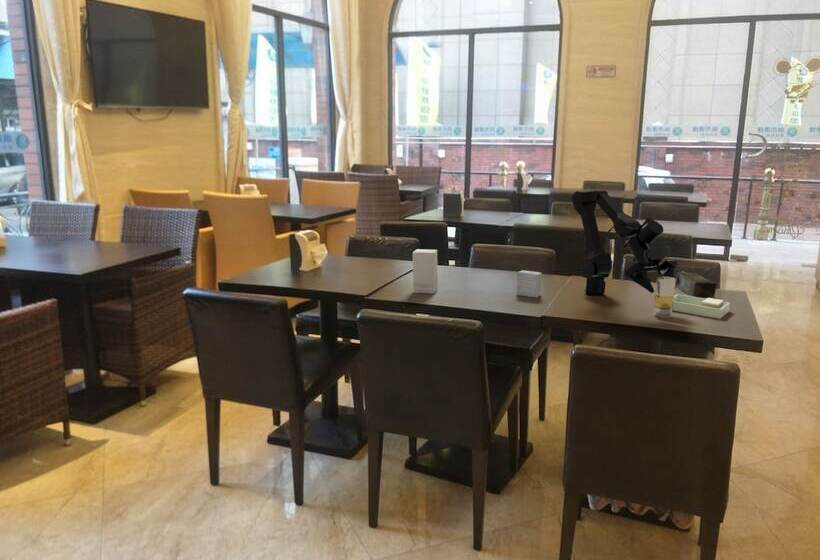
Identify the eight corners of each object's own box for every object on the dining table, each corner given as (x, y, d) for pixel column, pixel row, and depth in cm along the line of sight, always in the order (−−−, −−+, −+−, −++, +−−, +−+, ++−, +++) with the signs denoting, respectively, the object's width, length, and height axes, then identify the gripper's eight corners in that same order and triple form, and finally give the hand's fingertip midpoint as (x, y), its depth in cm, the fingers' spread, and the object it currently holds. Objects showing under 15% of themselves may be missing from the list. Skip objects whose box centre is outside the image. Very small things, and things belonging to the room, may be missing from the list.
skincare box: (437, 290, 241) (438, 249, 237) (433, 294, 235) (434, 252, 231) (416, 288, 243) (416, 248, 239) (411, 292, 237) (412, 251, 233)
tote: (665, 310, 218) (666, 300, 217) (676, 303, 226) (677, 294, 225) (720, 320, 207) (721, 309, 207) (728, 312, 216) (730, 302, 215)
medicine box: (540, 295, 235) (542, 272, 233) (536, 298, 232) (538, 274, 230) (520, 292, 239) (521, 269, 237) (516, 295, 235) (517, 272, 233)
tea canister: (654, 319, 208) (658, 279, 205) (651, 314, 213) (655, 275, 210) (673, 320, 207) (677, 280, 204) (669, 315, 212) (673, 276, 209)
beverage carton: (694, 287, 252) (696, 270, 250) (715, 300, 233) (717, 282, 231) (674, 286, 252) (676, 270, 250) (693, 299, 233) (695, 282, 232)
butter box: (700, 313, 213) (701, 301, 212) (706, 308, 218) (707, 297, 217) (716, 316, 210) (718, 304, 209) (722, 311, 215) (723, 300, 214)
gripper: (634, 239, 206) (657, 280, 198) (677, 235, 213) (700, 274, 206) (614, 259, 214) (636, 298, 207) (656, 255, 222) (678, 293, 215)
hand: (663, 290), depth 209 cm, fingers open, 9 cm apart
